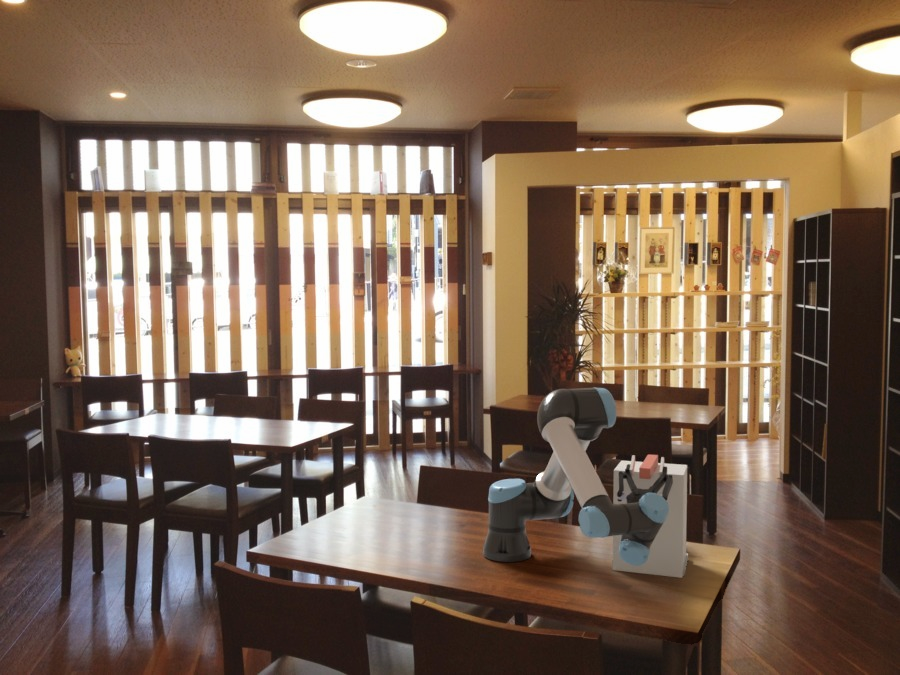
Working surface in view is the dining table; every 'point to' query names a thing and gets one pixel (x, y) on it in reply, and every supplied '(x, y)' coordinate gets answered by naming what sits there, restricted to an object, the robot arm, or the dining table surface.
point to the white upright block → (671, 537)
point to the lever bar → (648, 467)
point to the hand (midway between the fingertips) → (648, 459)
